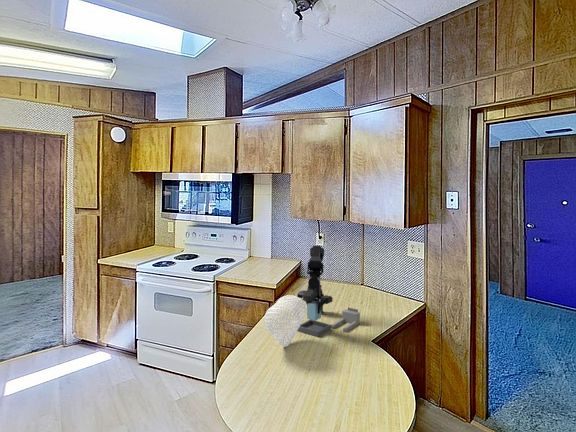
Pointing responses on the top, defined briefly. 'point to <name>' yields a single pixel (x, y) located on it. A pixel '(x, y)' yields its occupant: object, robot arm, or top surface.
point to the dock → (348, 319)
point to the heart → (299, 320)
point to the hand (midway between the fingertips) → (314, 312)
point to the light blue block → (313, 311)
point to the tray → (314, 328)
